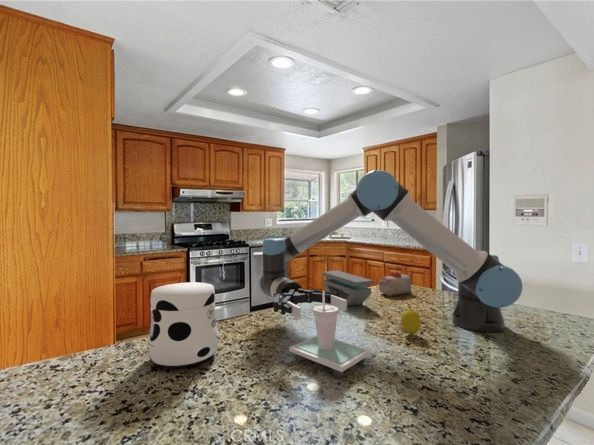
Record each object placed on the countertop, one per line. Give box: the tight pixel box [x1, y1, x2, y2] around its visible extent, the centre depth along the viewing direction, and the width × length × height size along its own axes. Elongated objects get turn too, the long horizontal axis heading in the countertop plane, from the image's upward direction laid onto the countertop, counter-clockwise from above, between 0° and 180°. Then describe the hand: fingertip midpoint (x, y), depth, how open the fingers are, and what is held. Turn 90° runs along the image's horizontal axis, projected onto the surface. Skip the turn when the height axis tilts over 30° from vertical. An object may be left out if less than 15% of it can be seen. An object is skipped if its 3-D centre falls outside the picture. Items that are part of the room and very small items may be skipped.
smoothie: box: [312, 290, 340, 350], centre depth 82 cm, size 6×6×14 cm
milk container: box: [146, 281, 220, 369], centre depth 85 cm, size 17×17×18 cm
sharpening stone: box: [321, 270, 374, 307], centre depth 137 cm, size 25×8×11 cm, turn 26°
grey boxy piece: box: [378, 271, 412, 297], centre depth 150 cm, size 14×8×10 cm, turn 114°
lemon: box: [401, 308, 422, 336], centre depth 99 cm, size 6×6×8 cm
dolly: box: [288, 335, 371, 379], centre depth 82 cm, size 16×12×4 cm
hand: (323, 309), depth 83 cm, fingers open, 13 cm apart
